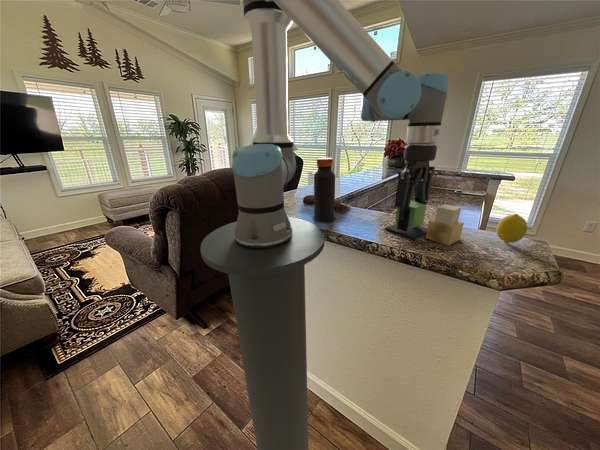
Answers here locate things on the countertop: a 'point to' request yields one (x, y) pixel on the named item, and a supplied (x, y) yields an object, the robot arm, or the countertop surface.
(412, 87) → the robot arm
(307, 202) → the sunglasses case
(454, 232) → the maple block
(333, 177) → the bottle
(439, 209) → the cream block
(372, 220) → the countertop surface
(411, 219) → the green block
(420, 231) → the coaster
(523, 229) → the lemon
